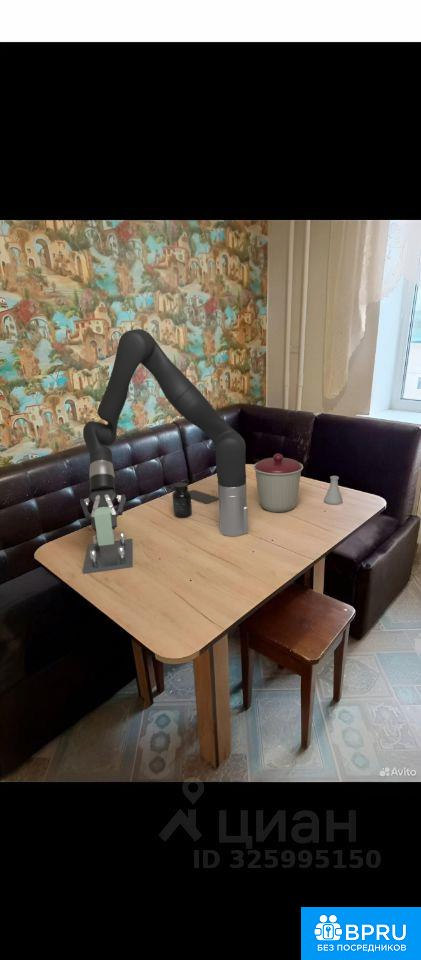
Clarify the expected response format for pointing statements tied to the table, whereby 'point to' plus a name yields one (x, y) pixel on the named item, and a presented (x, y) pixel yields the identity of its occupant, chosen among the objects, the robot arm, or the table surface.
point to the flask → (333, 492)
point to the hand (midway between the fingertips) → (104, 529)
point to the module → (104, 526)
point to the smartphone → (202, 497)
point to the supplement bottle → (182, 501)
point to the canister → (278, 482)
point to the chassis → (109, 555)
